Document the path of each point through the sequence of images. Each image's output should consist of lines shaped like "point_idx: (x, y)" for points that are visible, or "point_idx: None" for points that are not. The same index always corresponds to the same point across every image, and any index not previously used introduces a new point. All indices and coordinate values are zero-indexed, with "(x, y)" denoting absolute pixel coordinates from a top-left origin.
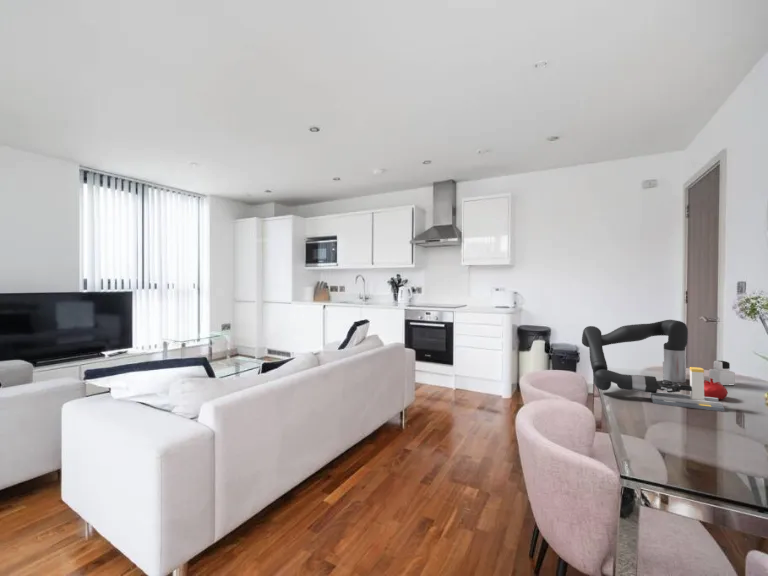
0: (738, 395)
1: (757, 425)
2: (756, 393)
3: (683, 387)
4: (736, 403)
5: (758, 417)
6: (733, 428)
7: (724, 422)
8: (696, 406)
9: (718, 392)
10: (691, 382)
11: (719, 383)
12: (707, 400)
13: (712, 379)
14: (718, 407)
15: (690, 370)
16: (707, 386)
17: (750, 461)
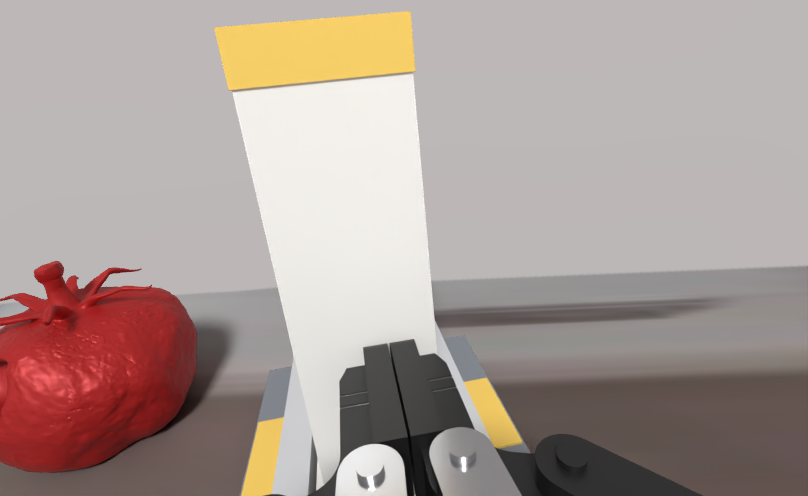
0: None
1: (594, 280)
2: None
3: (467, 423)
4: (237, 334)
5: (454, 284)
6: (791, 318)
7: (724, 346)
8: None
9: (188, 328)
10: (393, 281)
11: (119, 271)
12: None
13: (62, 267)
14: (473, 353)
15: (300, 86)
16: (108, 339)
17: None
